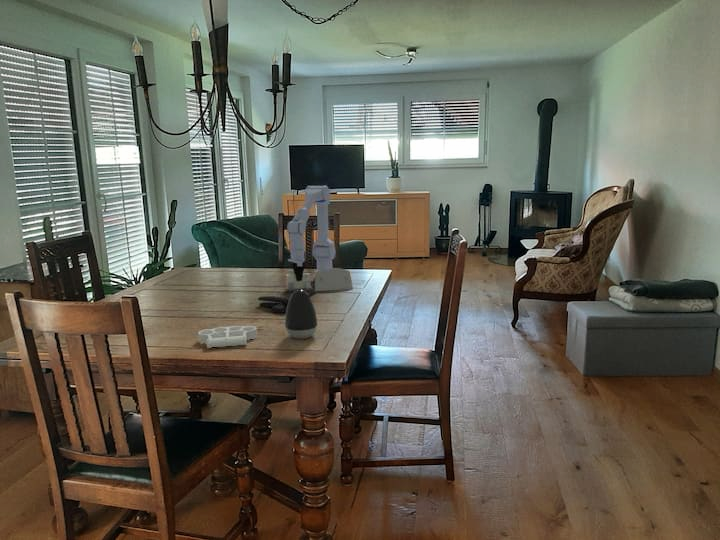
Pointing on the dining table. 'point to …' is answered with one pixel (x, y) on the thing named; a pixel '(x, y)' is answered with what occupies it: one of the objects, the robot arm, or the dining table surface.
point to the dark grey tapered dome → (301, 315)
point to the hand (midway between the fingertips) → (298, 280)
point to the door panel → (298, 283)
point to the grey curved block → (332, 279)
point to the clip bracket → (291, 288)
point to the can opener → (275, 306)
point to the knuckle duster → (227, 336)
